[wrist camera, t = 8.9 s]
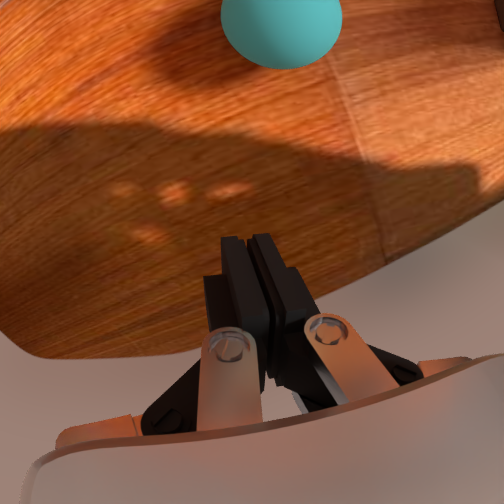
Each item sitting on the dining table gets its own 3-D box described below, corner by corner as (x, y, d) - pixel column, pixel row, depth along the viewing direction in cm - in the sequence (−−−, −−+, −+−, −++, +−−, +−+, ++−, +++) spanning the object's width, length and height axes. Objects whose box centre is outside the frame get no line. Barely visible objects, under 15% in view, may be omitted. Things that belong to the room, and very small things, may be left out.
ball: (223, -50, 11) (206, 40, 16) (247, -40, 8) (220, 85, 13) (327, -30, 13) (300, 49, 18) (381, -4, 10) (338, 97, 15)
